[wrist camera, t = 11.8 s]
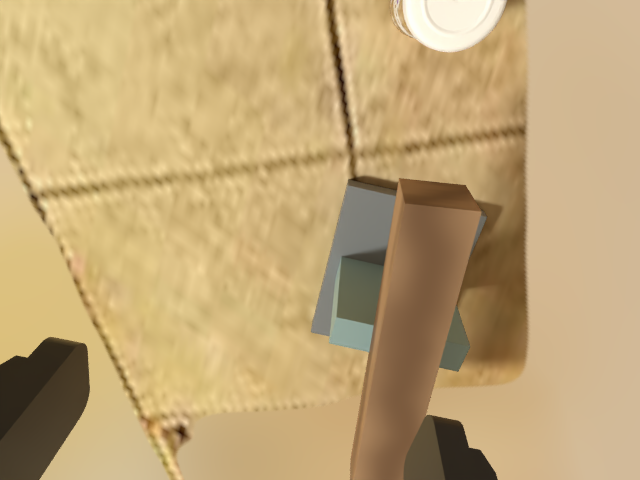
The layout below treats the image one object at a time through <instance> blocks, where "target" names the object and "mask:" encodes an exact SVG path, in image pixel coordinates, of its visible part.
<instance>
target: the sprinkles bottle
mask: <svg viewBox="0 0 640 480" xmlns="http://www.w3.org/2000/svg"><path fill="white" fill-rule="evenodd" d="M506 3H507V0H390V13H391V17H392V20H393V23H394V24H395V26H396V27H397V29H398V30H400V32H402V33H403V34H405V35H407V36H409V37H411V38H415V39H417V40H418V41H419V42H420V43H422V44H423V45H425V46H427V47H429V48H431V49H434V50H437V51H442V52H457V51H462V50H465V49H468V48H470V47H472V46H474V45H476V44H477V43H479V42H481V41H482V40H483V39H484V38H485V37H486V36H488V35H489V34H490V33H491V31H492V30H493V29H494V28H495V26H496V25H497V23H498V22H499V20H500V18H501V16H502V14H503V12H504V9H505V6H506Z"/></svg>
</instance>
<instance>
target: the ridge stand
mask: <svg viewBox="0 0 640 480" xmlns="http://www.w3.org/2000/svg"><path fill="white" fill-rule="evenodd" d="M396 193H397V190H393V189H388V188H384V187H379V186H375V185H371V184H366V183H362V182H357V181H353V180H349V179H348V183H347V187H346V191H345V195H344V199H343V203H342V207H341V211H340V215H339V219H338V223H337V227H336V231H335V235H334V239H333V243H332V247H331V251H330V255H329V259H328V263H327V267H326V271H325V275H324V279H323V283H322V287H321V291H320V295H319V299H318V303H317V307H316V311H315V315H314V319H313V323H312V329H311V332H312V333H317V334H321V335H326V336H330V338H329V343H330V344H335V345H339V346H344V347H348V348H353V349H357V350H362V351H367V352H369V350H370V344H371V338H372V332H373V326H374V321H375V315H376V309H377V303H378V297H379V292H380V286H381V280H382V274H383V269H384V263H385V257H386V251H387V245H388V240H389V234H390V228H391V222H392V216H393V211H394V205H395V199H396ZM481 211H482V213H481V216H480V220H479V223H478V227H477V231H476V234H475V238H474V242H473V245H472V249H471V252H470V256H471V254H472V251H473V249H474V247H475V244H476V242H477V240H478V237H479V235H480V233H481V230H482V228H483V226H484V223H485V221H486V219H487V216H486V214H485V213H484V211H483V210H481ZM470 256H469V258H470ZM468 261H469V260H468ZM469 348H470V344H469V341H468V338H467V335H466V332H465V329H464V326H463V323H462V320H461V317H460V314H459V311H458V308H457V305H456V307H455V311H454V314H453V318H452V322H451V325H450V329H449V332H448V336H447V340H446V343H445V347H444V351H443V354H442V358H441V362H440V365H439V368H444V369H448V370H453V371H457V372H458V371H459V369H460V367H461V365H462V363H463V361H464V359H465V357H466V355H467V353H468V350H469Z"/></svg>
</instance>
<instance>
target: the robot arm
mask: <svg viewBox="0 0 640 480" xmlns="http://www.w3.org/2000/svg"><path fill="white" fill-rule="evenodd" d="M89 391H90V385H89V369H88V351H87V346H86V345H85V344H83V343H79V342H74V341H69V340H64V339H59V338H54V337H49V338H47V339H45V340H44V341H43V342H42V343H41V344H40V345H39V346H38V347H37V348H36V349H35V350H34V351H33V353H32V354H31V355H30V356H29V357H28V358H26V357H21V356H15V357H13V358H11V359H10V360H8V361H6V362H5V363H3V364H1V365H0V480H39V479H40V478H41V476H42V475H43V473H44V472H45V470H46V469H47V467H48V466H49V464H50V462H51V461H52V459H53V458H54V456H55V455H56V453H57V452H58V450H59V449H60V447H61V446H62V444H63V443H64V441H65V440H66V438H67V437H68V435H69V433H70V432H71V430H72V429H73V428H74V426H75V425H76V423H77V421H78V420H79V418H80V417H81V415H82V413H83V411H84V409H85V407H86V404H87V401H88V397H89ZM403 480H498V479H497V476H496V473H495V471H494V470H493V468H492V467H491V465H490V464H489V462H488V461H487V459H486V458H485V456H484V455H483V453H482V452H481V450H478V449H473V448H469V446H468V442H467V439H466V435H465V431H464V428H463V425H462V424H461V422H459V421H457V420H451V419H447V418H442V417H437V416H432V415H427V416H426V417H425V418H424V420H423V422H422V424H421V426H420V428H419V430H418V432H417V434H416V436H415V438H414V440H413V442H412V444H411V446H410V448H409V450H408V453H407V455H406V458H405V463H404V472H403Z"/></svg>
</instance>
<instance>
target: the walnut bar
mask: <svg viewBox="0 0 640 480" xmlns="http://www.w3.org/2000/svg"><path fill="white" fill-rule="evenodd" d="M481 213H482V211H481V210H480V208H479V206H478V205H477V203H476V202H475V200H474V198H473V197H472V195H471V193H470V192H469V190H468V189H467V187H466V185H458V184H448V183H439V182H429V181H420V180H410V179H400V178H399V182H398V188H397V193H396V199H395V205H394V211H393V216H392V222H391V228H390V234H389V240H388V245H387V251H386V257H385V263H384V269H383V274H382V280H381V286H380V292H379V297H378V303H377V309H376V315H375V321H374V326H373V332H372V338H371V344H370V350H369V355H368V361H367V367H366V373H365V379H364V384H363V390H362V396H361V402H360V408H359V413H358V419H357V425H356V431H355V437H354V442H353V448H352V454H351V467H350V480H403V472H404V463H405V458H406V455H407V453H408V450H409V448H410V446H411V444H412V442H413V440H414V438H415V436H416V434H417V432H418V430H419V428H420V426H421V424H422V422H423V420H424V418H425V416H426V412H427V409H428V405H429V402H430V398H431V394H432V391H433V387H434V383H435V380H436V376H437V372H438V369H439V365H440V362H441V358H442V354H443V351H444V347H445V343H446V340H447V336H448V332H449V329H450V325H451V322H452V318H453V314H454V311H455V307H456V303H457V300H458V296H459V292H460V289H461V285H462V282H463V278H464V274H465V271H466V267H467V263H468V260H469V256H470V252H471V249H472V245H473V242H474V238H475V234H476V231H477V227H478V223H479V220H480V216H481Z"/></svg>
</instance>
